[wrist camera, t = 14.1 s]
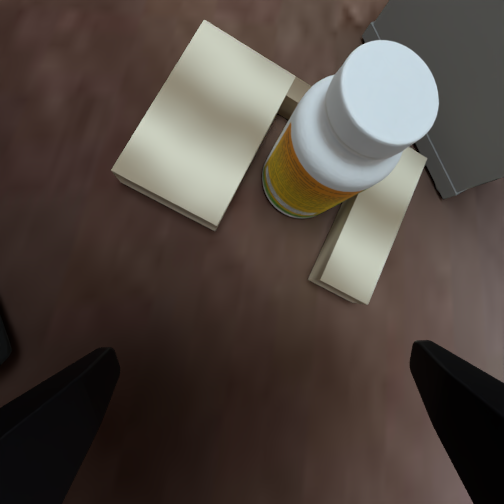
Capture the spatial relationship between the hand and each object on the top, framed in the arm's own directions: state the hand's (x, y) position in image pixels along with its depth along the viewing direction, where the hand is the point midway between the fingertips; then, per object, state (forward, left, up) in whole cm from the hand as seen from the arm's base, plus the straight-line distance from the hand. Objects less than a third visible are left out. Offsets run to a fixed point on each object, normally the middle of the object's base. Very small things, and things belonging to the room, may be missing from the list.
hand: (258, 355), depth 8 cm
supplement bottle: (+9, +4, -10) cm, 14 cm away
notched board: (+8, +5, -10) cm, 14 cm away
